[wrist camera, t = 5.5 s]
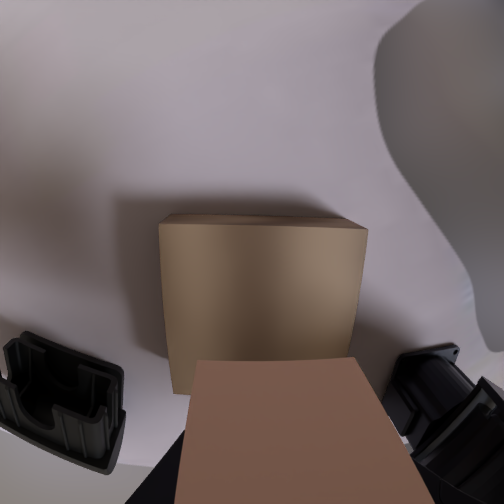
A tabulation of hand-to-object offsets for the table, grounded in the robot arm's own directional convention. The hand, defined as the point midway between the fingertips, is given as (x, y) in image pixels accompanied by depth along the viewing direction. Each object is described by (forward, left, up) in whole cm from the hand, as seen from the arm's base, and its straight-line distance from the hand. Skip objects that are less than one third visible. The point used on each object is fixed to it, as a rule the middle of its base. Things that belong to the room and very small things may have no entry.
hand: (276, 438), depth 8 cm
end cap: (+14, +8, -11) cm, 20 cm away
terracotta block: (0, 0, -1) cm, 1 cm away
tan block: (0, 0, -11) cm, 11 cm away
